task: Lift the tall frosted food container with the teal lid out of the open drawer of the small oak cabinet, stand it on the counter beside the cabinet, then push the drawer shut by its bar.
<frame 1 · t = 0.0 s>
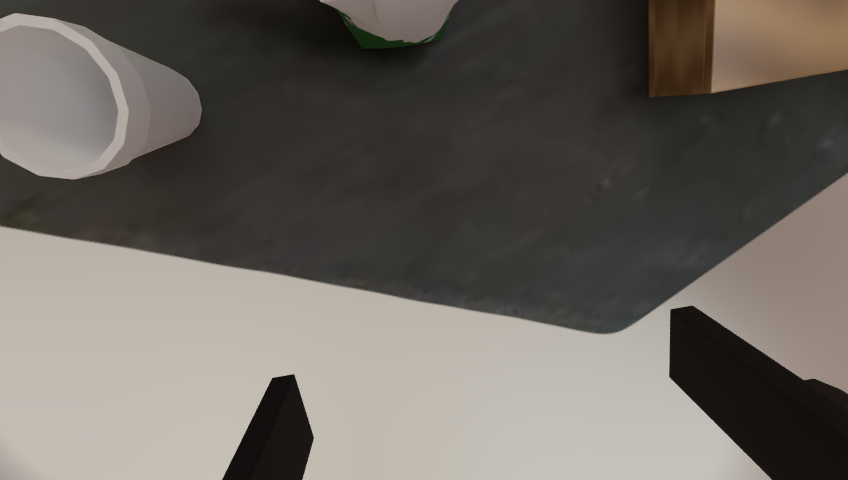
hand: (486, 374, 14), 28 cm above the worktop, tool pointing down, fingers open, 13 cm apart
foam cup: (166, 104, 37), on the worktop
milk carton: (395, 1, 36), on the worktop
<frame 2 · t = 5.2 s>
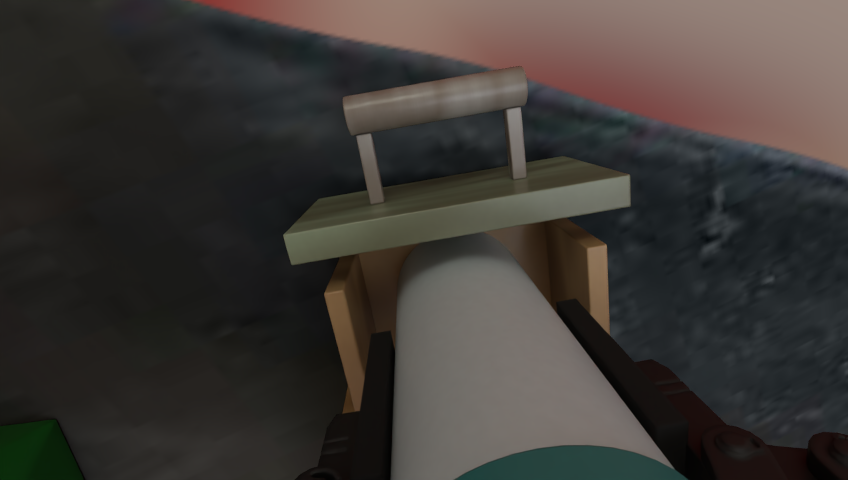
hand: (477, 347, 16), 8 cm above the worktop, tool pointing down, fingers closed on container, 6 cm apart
drawer: (462, 290, 19), point 4 cm above the worktop, slide at 9.0 cm, touching container
container: (459, 287, 21), point 2 cm above the worktop, touching drawer, gripper
milk carton: (23, 467, 26), on the worktop
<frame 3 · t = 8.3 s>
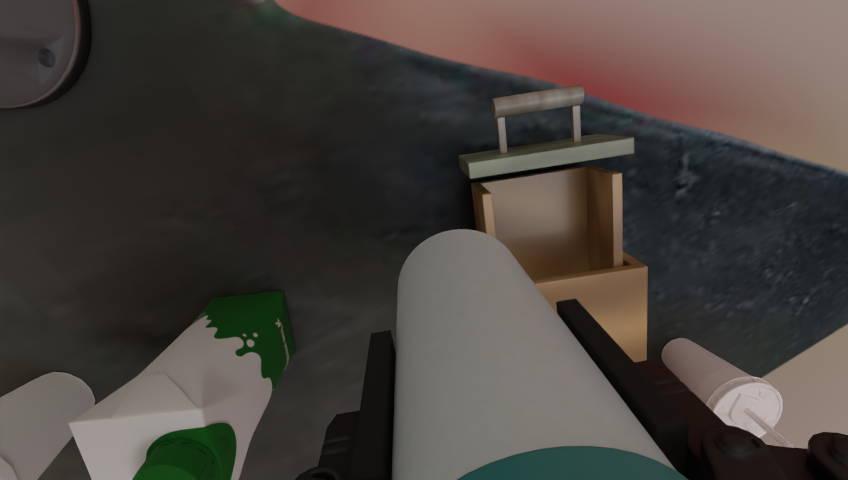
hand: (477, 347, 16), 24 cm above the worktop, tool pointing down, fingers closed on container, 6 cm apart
cabinet: (537, 316, 43), on the worktop
foam cup: (65, 396, 44), on the worktop
drawer: (542, 204, 35), point 4 cm above the worktop, slide at 9.0 cm
container: (459, 288, 21), point 19 cm above the worktop, touching gripper
milk carton: (255, 323, 42), on the worktop
smoothie: (676, 351, 45), on the worktop
when the fingers open (6 cm above the worktop, at t = 11.9 s): container stays where it is, on the worktop.
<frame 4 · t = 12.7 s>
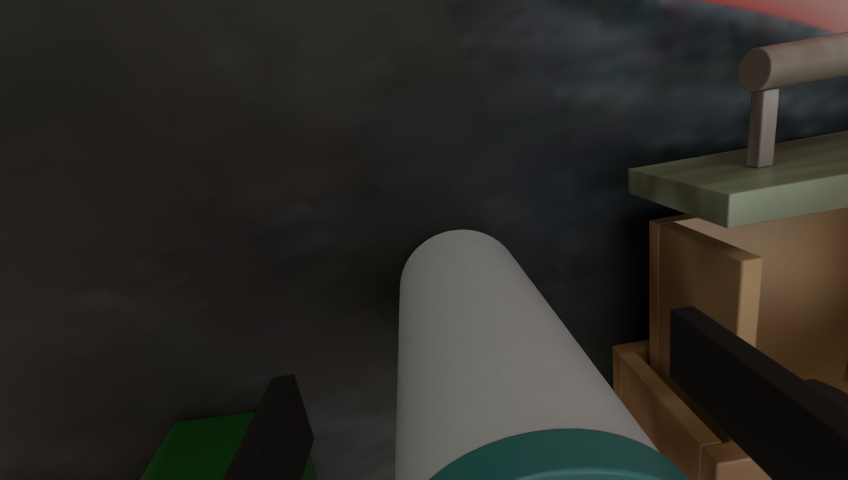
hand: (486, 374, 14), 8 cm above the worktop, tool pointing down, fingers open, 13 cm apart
cabinet: (724, 432, 26), on the worktop
drawer: (811, 264, 18), point 4 cm above the worktop, slide at 9.0 cm
container: (459, 287, 22), on the worktop
milk carton: (250, 457, 25), on the worktop
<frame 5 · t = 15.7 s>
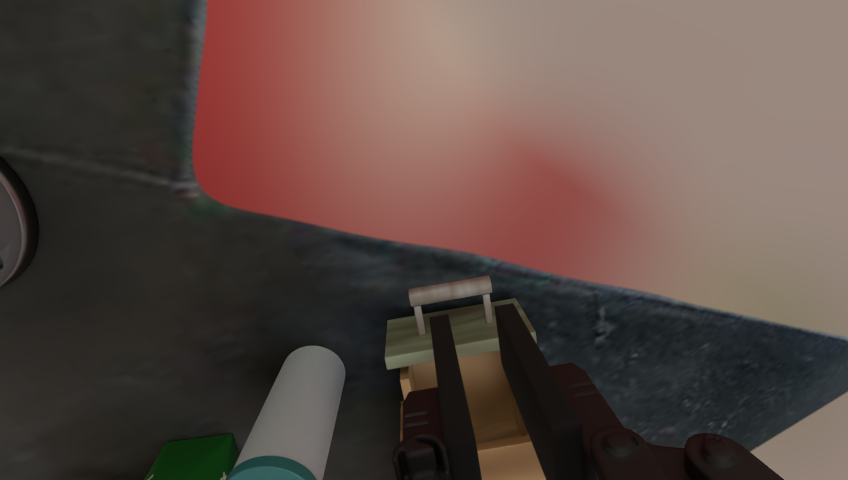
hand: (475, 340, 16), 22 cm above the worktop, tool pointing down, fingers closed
cabinet: (473, 446, 46), on the worktop
drawer: (462, 371, 38), point 4 cm above the worktop, slide at 9.0 cm
container: (314, 372, 42), on the worktop
milk carton: (208, 461, 45), on the worktop
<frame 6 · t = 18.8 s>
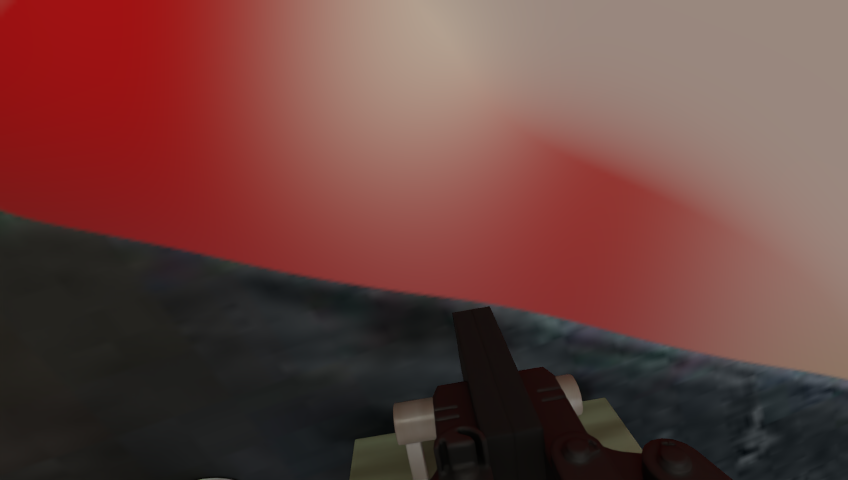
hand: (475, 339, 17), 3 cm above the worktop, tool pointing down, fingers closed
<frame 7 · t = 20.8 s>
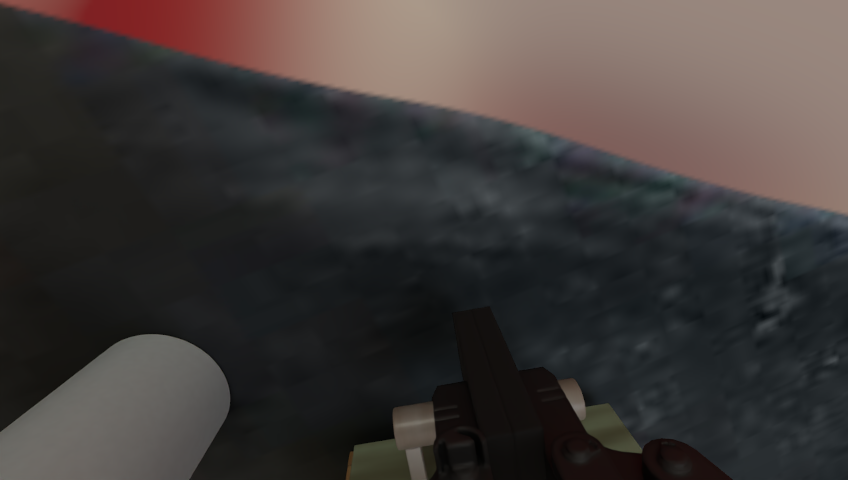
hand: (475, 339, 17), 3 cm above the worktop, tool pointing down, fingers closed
container: (162, 392, 20), on the worktop
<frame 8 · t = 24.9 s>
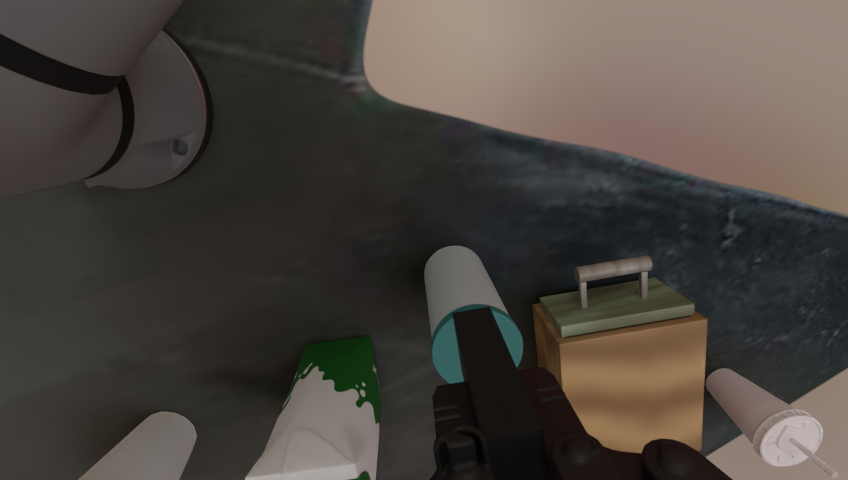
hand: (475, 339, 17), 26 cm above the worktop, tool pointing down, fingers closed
cabinet: (596, 352, 48), on the worktop
foam cup: (170, 432, 49), on the worktop
drawer: (612, 342, 43), point 4 cm above the worktop, slide at 0.0 cm, touching cabinet
container: (453, 273, 44), on the worktop
milk carton: (343, 364, 47), on the worktop
smoothie: (719, 380, 50), on the worktop
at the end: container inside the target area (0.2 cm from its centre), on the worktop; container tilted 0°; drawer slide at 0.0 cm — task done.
